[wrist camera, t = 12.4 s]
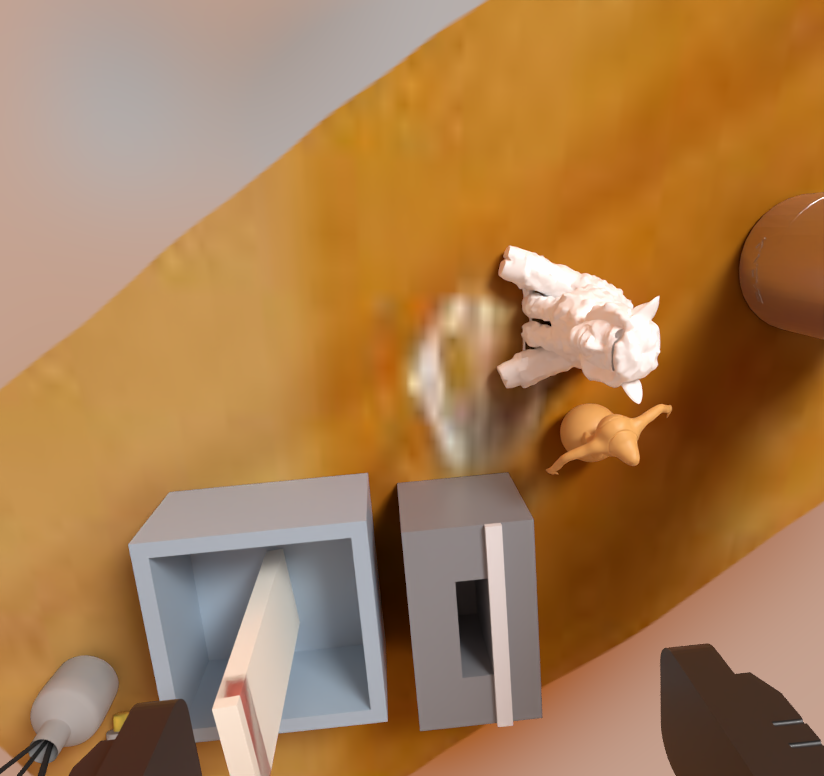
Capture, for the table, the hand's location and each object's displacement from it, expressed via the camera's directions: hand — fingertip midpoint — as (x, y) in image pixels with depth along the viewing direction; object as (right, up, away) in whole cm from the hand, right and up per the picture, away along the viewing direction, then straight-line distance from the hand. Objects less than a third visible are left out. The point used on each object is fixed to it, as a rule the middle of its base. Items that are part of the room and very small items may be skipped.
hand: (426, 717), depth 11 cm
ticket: (-10, -9, +37) cm, 39 cm away
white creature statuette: (+10, +11, +34) cm, 37 cm away
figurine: (+11, +4, +36) cm, 38 cm away
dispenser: (+3, -8, +38) cm, 39 cm away
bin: (-10, -8, +37) cm, 40 cm away
